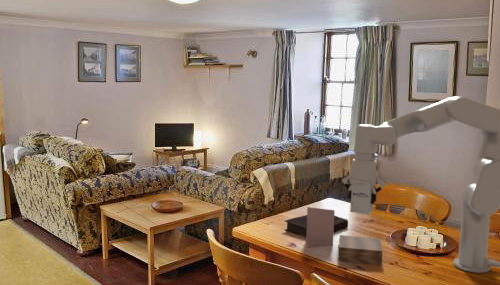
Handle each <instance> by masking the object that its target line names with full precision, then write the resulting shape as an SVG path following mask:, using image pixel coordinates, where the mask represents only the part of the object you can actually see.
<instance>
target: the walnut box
mask: <svg viewBox="0 0 500 285" xmlns="http://www.w3.org/2000/svg"><path fill="white" fill-rule="evenodd" d="M337 249H338V250H337V251H338V254H337V255H338V260H337V261H338V262H342V263H352V264H361V265H373V266H382V264H383V247H382V242H381V238H377V237H367V236H365V237H364V236H355V235H354V236H353V235H343V234H342V235H339V238H338V245H337Z"/></svg>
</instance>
